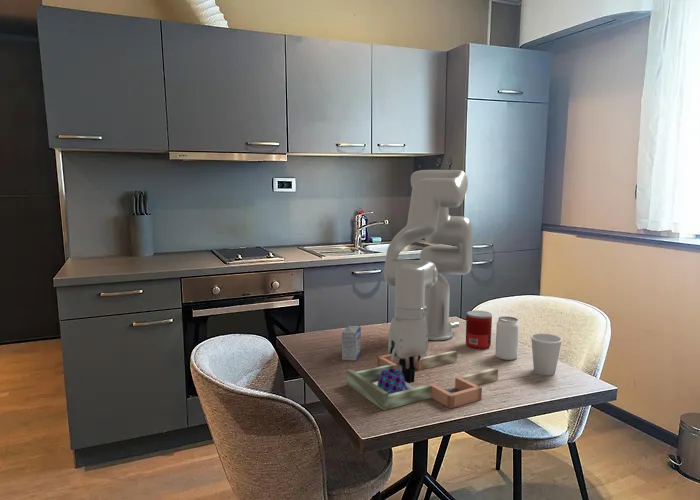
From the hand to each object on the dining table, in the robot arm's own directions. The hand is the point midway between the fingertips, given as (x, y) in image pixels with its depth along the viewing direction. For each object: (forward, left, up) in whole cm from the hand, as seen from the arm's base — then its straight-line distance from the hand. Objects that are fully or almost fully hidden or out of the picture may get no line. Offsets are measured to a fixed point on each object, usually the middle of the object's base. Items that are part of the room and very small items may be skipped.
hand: (408, 380), depth 131 cm
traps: (-6, 0, -1) cm, 6 cm away
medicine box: (+1, -27, -2) cm, 27 cm away
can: (-40, -3, -2) cm, 40 cm away
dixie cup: (-40, +11, -2) cm, 41 cm away
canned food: (-40, -15, -2) cm, 42 cm away
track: (-6, 0, -1) cm, 6 cm away
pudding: (+5, 0, -2) cm, 6 cm away
